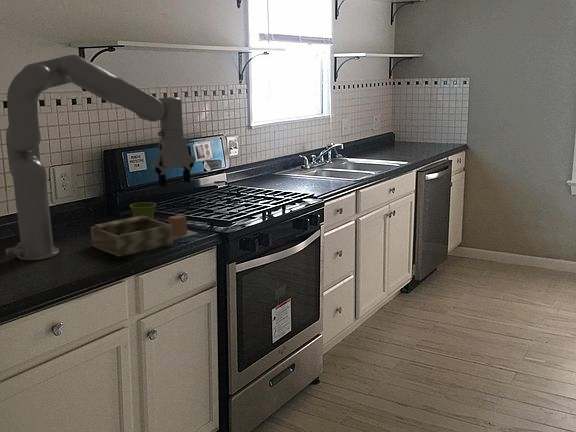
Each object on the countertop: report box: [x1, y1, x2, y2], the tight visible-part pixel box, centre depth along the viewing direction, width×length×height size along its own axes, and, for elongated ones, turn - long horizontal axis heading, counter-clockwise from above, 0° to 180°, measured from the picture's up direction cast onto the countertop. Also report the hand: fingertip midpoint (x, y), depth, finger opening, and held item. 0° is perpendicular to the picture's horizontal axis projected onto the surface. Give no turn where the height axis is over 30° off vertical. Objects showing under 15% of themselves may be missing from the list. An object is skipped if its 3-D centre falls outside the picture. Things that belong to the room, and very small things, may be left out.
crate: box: [90, 215, 174, 258], centre depth 217 cm, size 20×18×7 cm
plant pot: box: [129, 201, 157, 219], centre depth 239 cm, size 9×9×9 cm
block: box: [168, 214, 188, 236], centre depth 228 cm, size 4×4×6 cm
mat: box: [173, 229, 200, 241], centre depth 229 cm, size 10×10×1 cm
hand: (175, 184), depth 225 cm, fingers open, 9 cm apart
